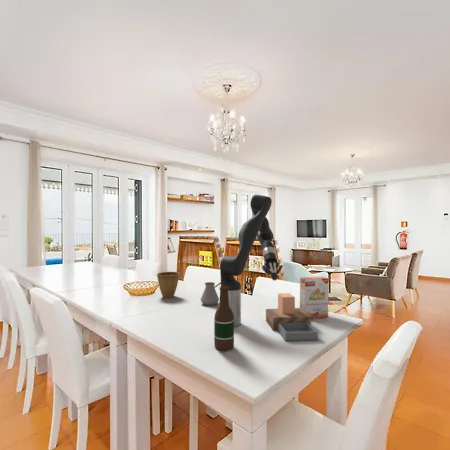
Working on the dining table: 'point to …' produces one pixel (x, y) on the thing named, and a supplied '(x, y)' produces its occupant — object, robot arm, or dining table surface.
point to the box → (297, 332)
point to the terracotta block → (286, 303)
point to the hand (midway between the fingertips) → (275, 279)
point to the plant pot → (168, 283)
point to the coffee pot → (210, 294)
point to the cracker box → (314, 296)
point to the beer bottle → (224, 323)
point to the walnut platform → (286, 317)
